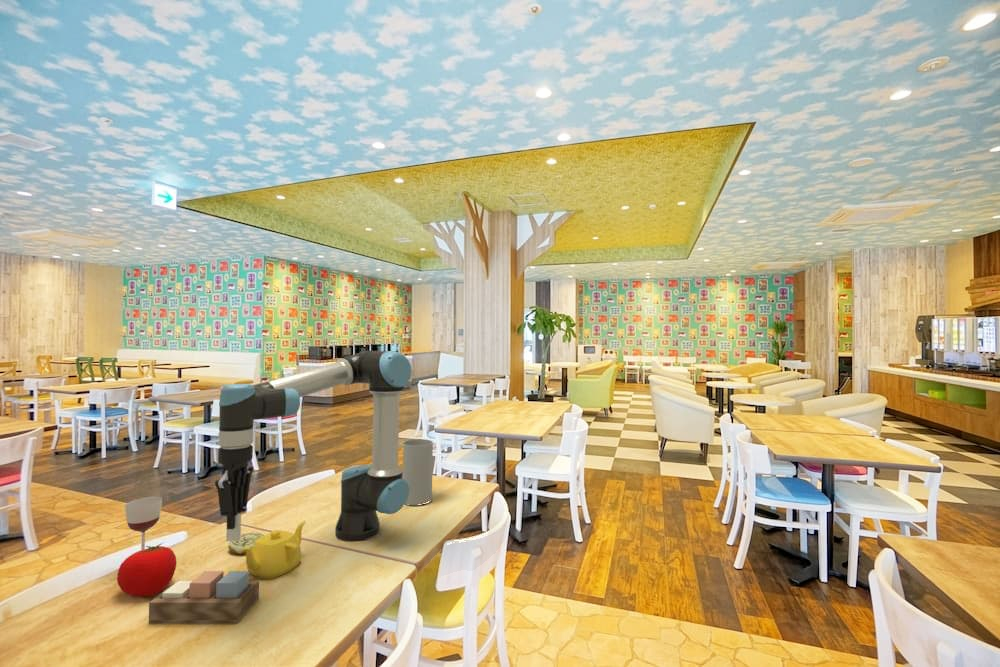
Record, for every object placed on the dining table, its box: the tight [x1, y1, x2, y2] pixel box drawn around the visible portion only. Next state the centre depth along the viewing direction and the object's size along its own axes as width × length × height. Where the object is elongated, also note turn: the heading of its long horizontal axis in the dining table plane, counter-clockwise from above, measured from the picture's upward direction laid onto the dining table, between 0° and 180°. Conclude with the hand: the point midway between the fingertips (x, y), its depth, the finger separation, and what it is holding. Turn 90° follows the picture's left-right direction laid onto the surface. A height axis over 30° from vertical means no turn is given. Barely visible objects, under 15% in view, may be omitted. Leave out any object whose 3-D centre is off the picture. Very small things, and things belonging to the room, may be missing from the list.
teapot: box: [241, 520, 307, 580], centre depth 134 cm, size 22×16×11 cm
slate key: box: [216, 570, 250, 599], centre depth 113 cm, size 5×6×5 cm
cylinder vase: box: [402, 438, 434, 506], centre depth 192 cm, size 12×12×25 cm
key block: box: [148, 579, 260, 625], centre depth 113 cm, size 21×10×5 cm, turn 91°
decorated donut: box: [228, 532, 265, 556], centre depth 147 cm, size 10×11×4 cm
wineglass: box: [124, 496, 163, 551], centre depth 132 cm, size 8×9×20 cm
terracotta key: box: [189, 570, 225, 599], centre depth 113 cm, size 5×6×5 cm
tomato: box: [116, 542, 177, 598], centre depth 121 cm, size 12×14×11 cm
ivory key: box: [161, 580, 192, 599], centre depth 113 cm, size 5×6×5 cm
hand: (233, 539), depth 113 cm, fingers closed
